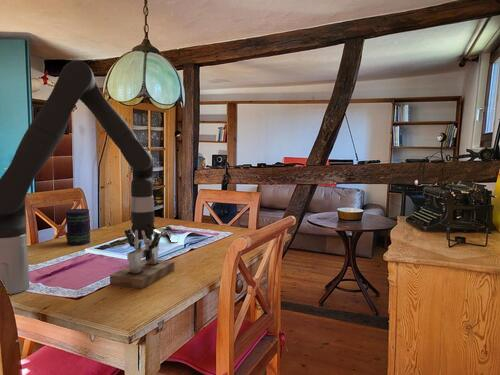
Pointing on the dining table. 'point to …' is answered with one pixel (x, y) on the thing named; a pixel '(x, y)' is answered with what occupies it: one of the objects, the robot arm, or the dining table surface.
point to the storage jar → (77, 227)
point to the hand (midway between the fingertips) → (144, 259)
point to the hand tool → (169, 228)
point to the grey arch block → (138, 254)
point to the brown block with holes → (142, 274)
